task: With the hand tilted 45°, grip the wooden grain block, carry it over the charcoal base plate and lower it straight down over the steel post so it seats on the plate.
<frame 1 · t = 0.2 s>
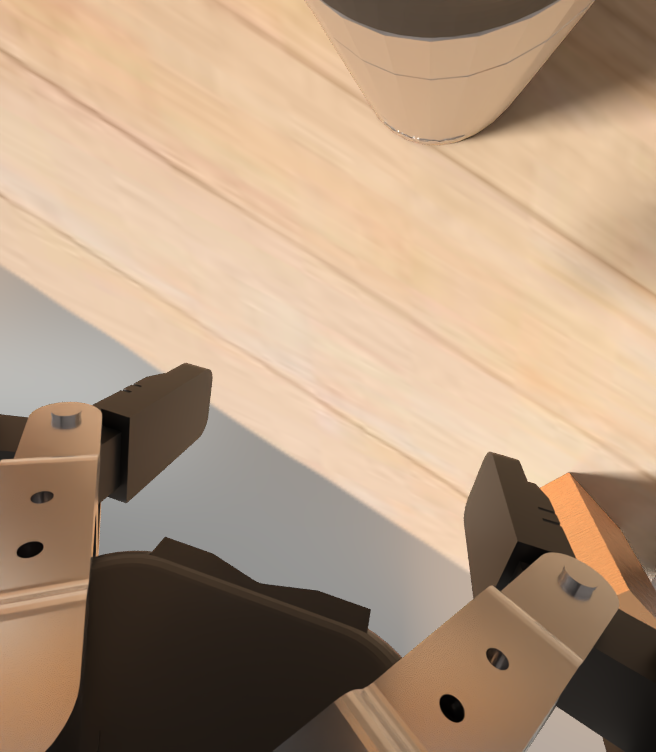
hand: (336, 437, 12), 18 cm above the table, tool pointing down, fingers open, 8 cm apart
wooden grain block: (556, 520, 31), on the table
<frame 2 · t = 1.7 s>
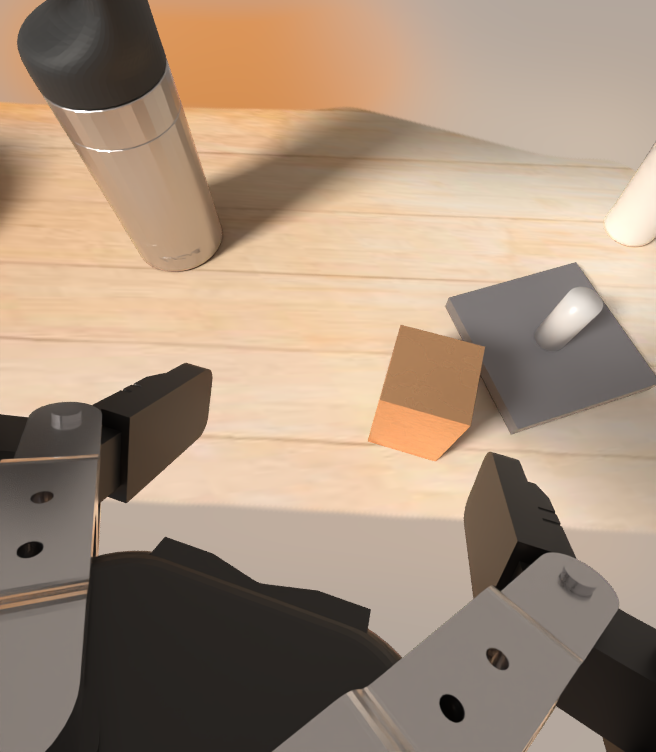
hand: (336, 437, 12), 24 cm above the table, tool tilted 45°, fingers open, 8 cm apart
post base: (542, 345, 41), on the table
drinking glass: (625, 231, 47), on the table
wooden grain block: (408, 419, 38), on the table
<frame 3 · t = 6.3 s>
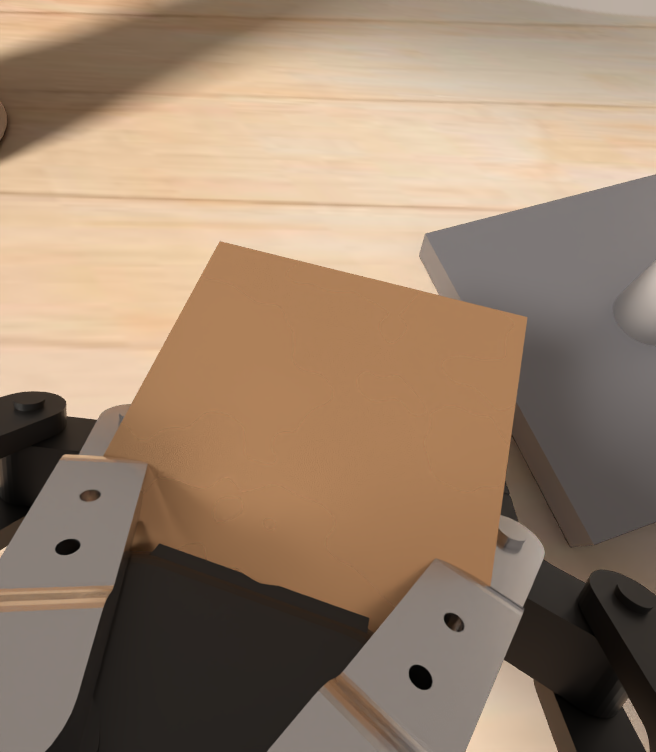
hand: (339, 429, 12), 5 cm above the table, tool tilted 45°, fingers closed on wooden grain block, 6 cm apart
post base: (625, 335, 19), on the table
wooden grain block: (325, 507, 16), on the table, touching gripper
when the fingers open (7 cm above the table, at t = 13.7 s): wooden grain block drops 1 cm, resting on post base.
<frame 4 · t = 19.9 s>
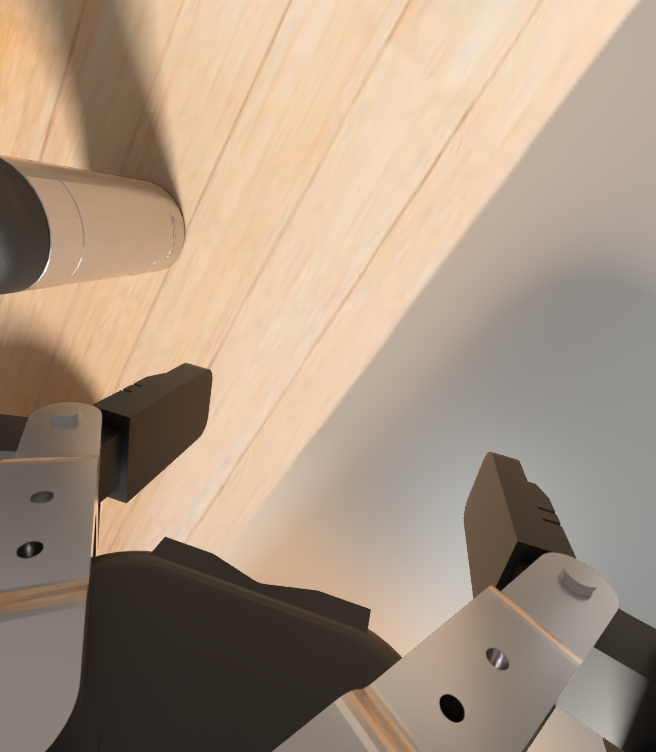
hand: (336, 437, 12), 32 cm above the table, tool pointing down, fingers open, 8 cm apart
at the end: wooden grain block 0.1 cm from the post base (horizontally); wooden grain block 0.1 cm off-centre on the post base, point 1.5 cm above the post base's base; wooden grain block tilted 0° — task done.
